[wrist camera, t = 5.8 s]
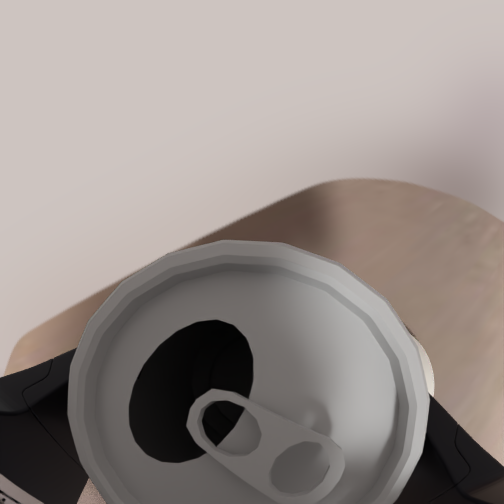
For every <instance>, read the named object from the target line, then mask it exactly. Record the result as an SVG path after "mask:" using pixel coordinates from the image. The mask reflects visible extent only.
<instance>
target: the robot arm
mask: <svg viewBox="0 0 504 504" xmlns="http://www.w3.org/2000/svg"><path fill="white" fill-rule="evenodd" d="M76 349H77V348H75V349H73V350H71V351H68V352H66V353H64V354H62V355H59V356H57V357H55V358H54V359H50V360H48V361H46V362H43V363H41V364H38V365H36V366H34V367H31V368H28V369H25V370H22V371H19V372H16V373H13V374H10V375H7V376H4V377H1V378H0V504H77V502H78V500H79V497H80V495H81V493H82V491H83V489H84V487H85V485H86V483H87V480H88V478H89V476H88V474H87V473H86V471H85V469H84V468H83V466H82V464H81V462H80V460H79V456H78V453H77V450H76V446H75V443H74V439H73V435H72V432H71V428H70V423H69V419H68V415H67V414H68V387H69V374H70V365H71V363H72V360H73V357H74V355H75V352H76ZM145 363H146V362H145ZM145 363H144V365H145ZM144 365H143V367H142V369H141V371H140V373H139V375H138V377H137V379H139V378H140V375H141V373H142V370H143V368H144ZM428 393H429V392H428ZM429 398H430V403H429V412H428V420H427V428H426V434H425V440H424V446H423V451H422V454H421V456H420V458H419V460H418V462H417V464H416V466H415V468H414V470H413V472H412V474H411V476H410V478H409V480H408V481H407V483H406V485H405V487H404V488H403V490H402V492H401V494H400V495H399V497H398V499H397V500H396V501H395V502H394V503H393V504H504V466H502V465H501V464H500V463H499V462H498V461H497V460H496V459H495V458H493V457H492V456H491V455H490V454H489V453H488V452H487V451H485V450H484V449H483V448H482V447H481V446H480V445H479V444H478V443H477V442H476V441H475V440H474V439H473V438H472V437H471V436H470V435H469V434H468V433H467V432H466V431H465V430H464V429H463V428H462V427H461V426H460V425H459V424H458V423H457V422H456V421H455V420H454V419H453V417H452V416H451V415H450V414H449V413H448V412H447V411H446V410H445V409H444V408H443V407H442V406H441V405H440V404H439V403H438V402H437V401H436V400H435V399H434V398H433V396H432V395H431V394H430V393H429ZM457 424H458V425H457Z"/></svg>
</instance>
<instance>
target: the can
mask: <svg viewBox="0 0 504 504" xmlns="http://www.w3.org/2000/svg"><path fill="white" fill-rule="evenodd" d="M145 362H146V363H145ZM144 363H145V365H144ZM143 365H144V368H143V370H142V373H141V375H140V378H139V379H137V377H138V375H139V373H140V371H141V369H142V367H143ZM429 403H430V398H429V393H428V388H427V383H426V378H425V374H424V369H423V365H422V361H421V357H420V353H419V349H418V346H417V344H416V343H415V341H414V340H413V338H412V336H411V335H410V333H409V332H408V330H407V329H406V327H405V325H404V324H403V322H402V321H401V319H400V318H399V316H398V315H397V313H396V312H395V310H394V309H393V307H392V306H391V304H390V303H389V302H388V300H387V299H386V298H385V297H384V296H382V295H381V294H380V293H378V292H377V291H376V290H375V289H373V288H372V287H371V286H370V285H368V284H367V283H366V282H364V281H363V280H362V279H360V278H359V277H358V276H357V275H355V274H354V273H353V272H351V271H350V270H349V269H347V268H346V267H345V266H343V265H342V264H341V263H339V262H336V261H333V260H330V259H328V258H325V257H322V256H319V255H317V254H314V253H311V252H308V251H306V250H303V249H300V248H297V247H294V246H291V245H289V244H286V243H282V242H263V241H242V240H220V241H216V242H212V243H208V244H204V245H200V246H196V247H192V248H188V249H184V250H180V251H176V252H172V253H168V254H166V255H165V256H163V257H161V258H160V259H158V260H156V261H155V262H153V263H151V264H150V265H148V266H146V267H145V268H143V269H141V270H140V271H138V272H137V273H135V274H133V275H132V276H130V277H128V278H127V279H125V280H124V281H122V282H121V283H120V284H119V285H118V286H117V288H116V289H115V290H114V291H113V292H112V293H111V294H110V296H109V297H108V298H107V299H106V300H105V301H104V303H103V304H102V305H101V306H100V307H99V309H98V310H97V311H96V312H95V313H94V315H93V316H92V317H91V318H90V319H89V321H88V323H87V325H86V328H85V330H84V332H83V335H82V337H81V339H80V342H79V344H78V347H77V349H76V352H75V355H74V357H73V360H72V363H71V365H70V374H69V387H68V414H67V415H68V419H69V423H70V428H71V432H72V435H73V439H74V443H75V446H76V450H77V453H78V456H79V460H80V462H81V464H82V466H83V468H84V469H85V471H86V473H87V474H88V476H89V478H90V479H91V481H92V482H93V484H94V485H95V487H96V488H97V490H98V491H99V493H100V494H101V496H102V497H103V499H104V500H105V502H106V503H107V504H393V503H394V502H395V501H396V500H397V499H398V497H399V495H400V494H401V492H402V490H403V488H404V487H405V485H406V483H407V481H408V480H409V478H410V476H411V474H412V472H413V470H414V468H415V466H416V464H417V462H418V460H419V458H420V456H421V454H422V451H423V446H424V440H425V434H426V428H427V420H428V412H429Z"/></svg>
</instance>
